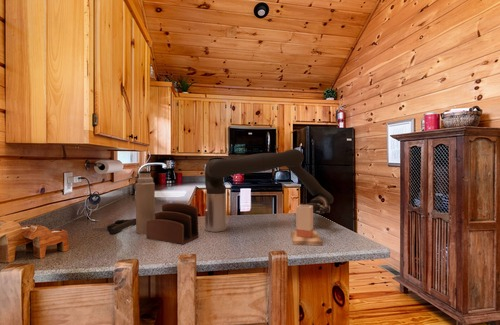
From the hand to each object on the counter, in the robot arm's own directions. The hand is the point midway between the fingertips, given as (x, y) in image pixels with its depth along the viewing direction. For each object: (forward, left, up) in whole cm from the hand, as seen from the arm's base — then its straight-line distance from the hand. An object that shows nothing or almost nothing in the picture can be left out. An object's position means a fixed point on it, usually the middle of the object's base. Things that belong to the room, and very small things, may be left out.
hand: (310, 210), depth 109 cm
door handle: (-94, -1, -10) cm, 95 cm away
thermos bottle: (-76, -5, -10) cm, 76 cm away
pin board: (-4, -10, -10) cm, 14 cm away
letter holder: (-59, -13, -10) cm, 61 cm away
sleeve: (-4, -10, -8) cm, 13 cm away
